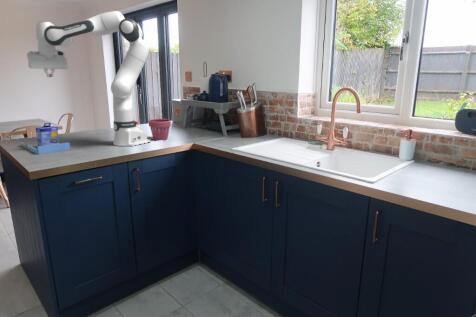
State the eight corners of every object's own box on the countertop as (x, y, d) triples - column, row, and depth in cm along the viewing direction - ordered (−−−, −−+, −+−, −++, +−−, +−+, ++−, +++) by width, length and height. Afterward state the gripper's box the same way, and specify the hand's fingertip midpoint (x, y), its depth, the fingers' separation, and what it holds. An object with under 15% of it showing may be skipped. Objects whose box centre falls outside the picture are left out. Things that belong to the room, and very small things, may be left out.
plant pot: (168, 141, 210) (167, 121, 206) (146, 141, 210) (145, 121, 207) (173, 137, 224) (172, 118, 220) (152, 137, 224) (152, 118, 221)
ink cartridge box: (42, 150, 181) (39, 124, 177) (37, 149, 184) (34, 123, 180) (60, 147, 189) (57, 122, 185) (55, 146, 192) (52, 121, 188)
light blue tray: (50, 141, 204) (49, 135, 203) (70, 149, 183) (69, 142, 182) (19, 145, 192) (18, 138, 191) (37, 154, 172) (36, 146, 171)
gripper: (28, 50, 178) (31, 76, 181) (67, 53, 192) (70, 77, 196) (24, 51, 182) (28, 76, 185) (63, 53, 197) (66, 77, 200)
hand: (50, 77), depth 191 cm, fingers closed
